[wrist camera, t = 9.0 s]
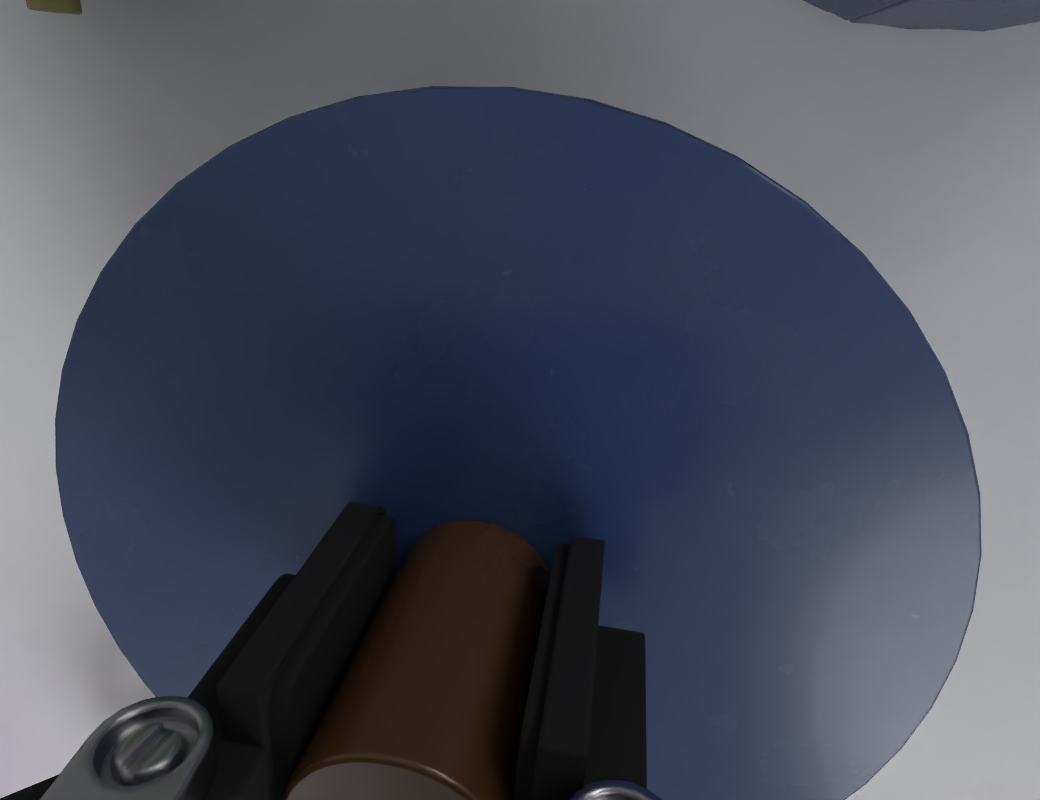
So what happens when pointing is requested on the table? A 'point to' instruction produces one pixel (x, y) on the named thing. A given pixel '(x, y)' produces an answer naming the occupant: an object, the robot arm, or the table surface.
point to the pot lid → (526, 440)
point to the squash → (56, 6)
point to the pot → (935, 13)
